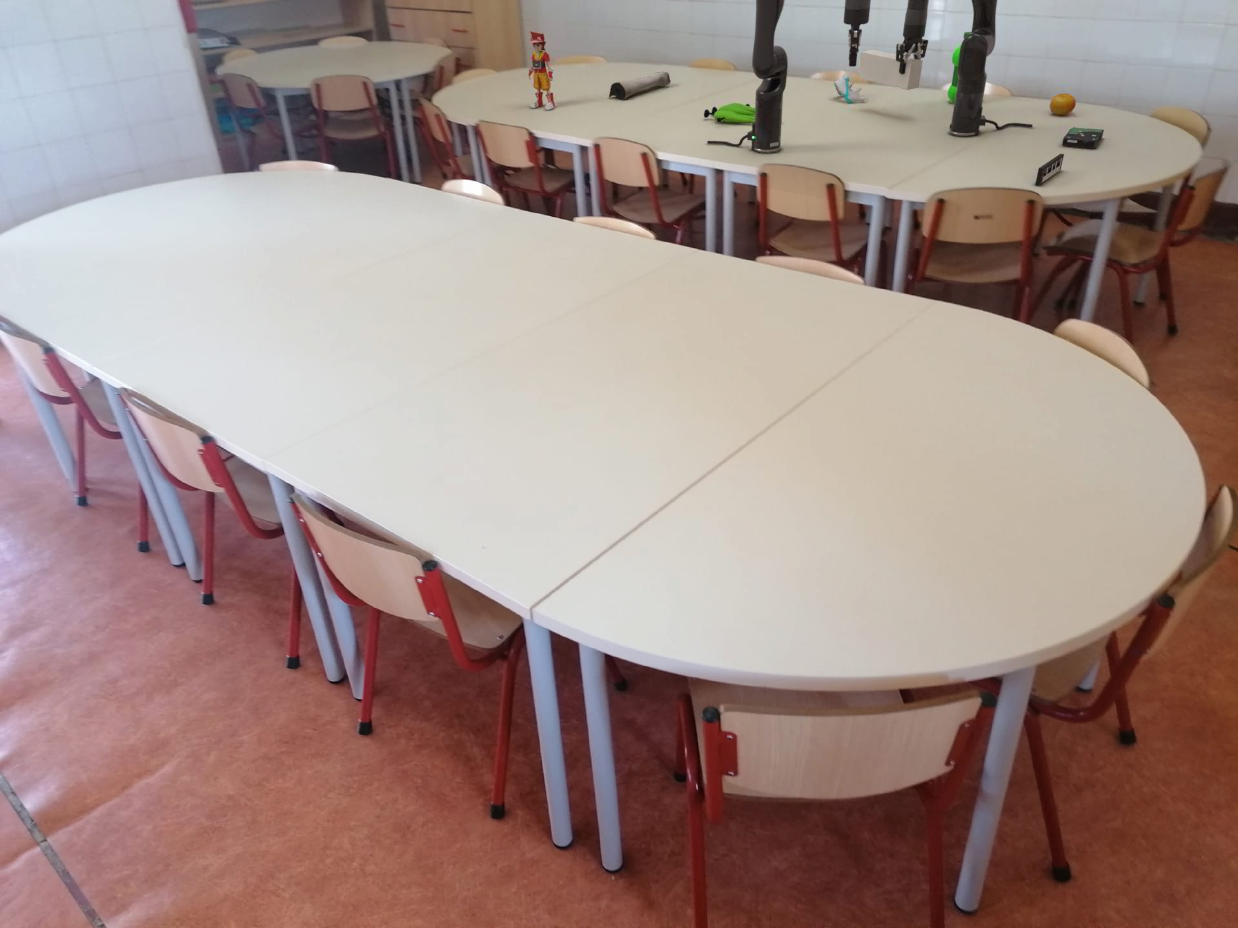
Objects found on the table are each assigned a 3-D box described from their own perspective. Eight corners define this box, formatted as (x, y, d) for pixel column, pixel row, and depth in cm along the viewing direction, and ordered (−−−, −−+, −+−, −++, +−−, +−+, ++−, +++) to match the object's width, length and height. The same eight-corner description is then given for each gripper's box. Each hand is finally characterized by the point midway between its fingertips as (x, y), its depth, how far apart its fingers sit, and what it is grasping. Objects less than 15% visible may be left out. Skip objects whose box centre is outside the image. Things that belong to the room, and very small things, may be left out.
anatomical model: (829, 74, 368) (853, 67, 367) (832, 100, 374) (856, 93, 373) (840, 82, 356) (864, 75, 355) (842, 109, 362) (867, 102, 361)
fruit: (1046, 106, 329) (1061, 86, 326) (1044, 110, 336) (1059, 90, 333) (1065, 119, 327) (1081, 99, 324) (1063, 122, 335) (1078, 102, 332)
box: (918, 87, 330) (922, 60, 325) (907, 90, 328) (911, 63, 322) (869, 75, 348) (872, 49, 343) (857, 78, 346) (860, 52, 340)
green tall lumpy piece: (978, 101, 353) (990, 32, 339) (960, 106, 348) (971, 36, 334) (957, 97, 360) (967, 29, 346) (939, 102, 355) (949, 33, 341)
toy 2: (694, 121, 346) (765, 134, 333) (695, 107, 343) (767, 120, 330) (725, 110, 366) (794, 122, 353) (727, 97, 363) (796, 108, 351)
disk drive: (1095, 149, 295) (1102, 137, 305) (1097, 141, 294) (1104, 129, 304) (1061, 146, 300) (1069, 134, 310) (1063, 138, 298) (1071, 126, 309)
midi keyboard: (1039, 185, 269) (1043, 168, 266) (1035, 184, 270) (1038, 168, 267) (1060, 170, 279) (1064, 154, 277) (1056, 169, 280) (1060, 153, 277)
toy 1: (525, 109, 381) (517, 32, 364) (534, 104, 388) (527, 28, 371) (550, 110, 377) (543, 32, 360) (559, 105, 384) (553, 28, 367)
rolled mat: (651, 76, 408) (662, 61, 399) (662, 93, 408) (674, 79, 400) (605, 92, 391) (616, 77, 383) (617, 110, 391) (628, 95, 383)
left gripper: (844, 3, 278) (840, 59, 287) (844, 10, 267) (840, 68, 276) (869, 2, 277) (864, 58, 286) (870, 9, 265) (865, 68, 275)
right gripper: (908, 26, 313) (902, 77, 323) (937, 21, 319) (930, 71, 329) (893, 23, 318) (886, 74, 328) (921, 18, 324) (914, 68, 334)
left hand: (852, 63), depth 281 cm, fingers open, 8 cm apart
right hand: (908, 72), depth 328 cm, fingers closed on box, 6 cm apart
